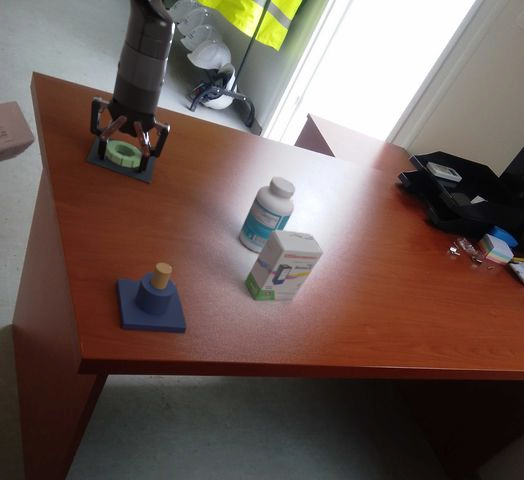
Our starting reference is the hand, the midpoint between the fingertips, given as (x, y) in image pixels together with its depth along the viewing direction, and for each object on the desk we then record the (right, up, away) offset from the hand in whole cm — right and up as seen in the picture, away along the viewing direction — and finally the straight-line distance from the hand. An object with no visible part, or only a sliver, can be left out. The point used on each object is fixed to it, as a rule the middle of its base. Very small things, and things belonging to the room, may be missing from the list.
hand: (121, 164), depth 89 cm
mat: (0, +2, +2) cm, 3 cm away
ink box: (+29, -26, -6) cm, 39 cm away
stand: (+11, -30, -22) cm, 39 cm away
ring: (+1, +1, -1) cm, 2 cm away
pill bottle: (+26, -15, +2) cm, 30 cm away
